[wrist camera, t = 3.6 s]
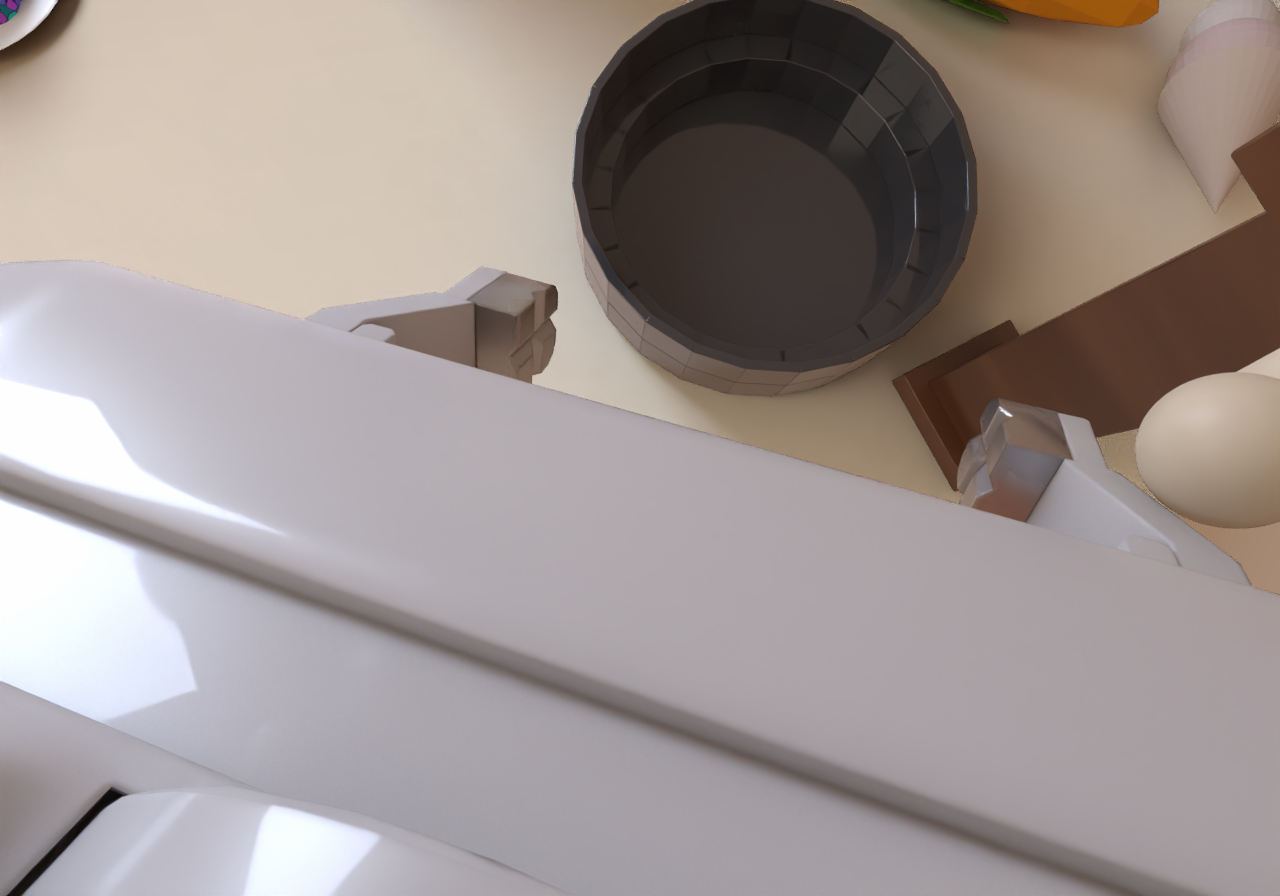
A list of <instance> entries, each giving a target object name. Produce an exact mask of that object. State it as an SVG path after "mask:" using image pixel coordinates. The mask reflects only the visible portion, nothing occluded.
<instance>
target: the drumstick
mask: <svg viewBox="0 0 1280 896" xmlns="http://www.w3.org/2000/svg"><path fill="white" fill-rule="evenodd" d="M1135 458H1136V464H1137V468H1138V471H1139V473H1140V476H1141V478H1142V480H1143V482H1144V483H1145V485H1146V486H1147V488H1148V489H1149V490H1150V491H1151V493H1152V494H1153V495H1154V496H1155V497H1156V498H1157V499H1158V500H1159V501H1160V502H1161V503H1162V504H1164V505H1165V506H1166V507H1168V508H1169V509H1171V510H1172V511H1174V512H1175V513H1177V514H1179V515H1181V516H1183V517H1185V518H1188V519H1190V520H1193V521H1195V522H1198V523H1201V524H1206V525H1210V526H1215V527H1223V528H1253V527H1260V526H1265V525H1269V524H1273V523H1276V522H1279V521H1280V348H1279V349H1277V350H1276V351H1274V352H1272V353H1270V354H1268V355H1266V356H1265V357H1263V358H1261V359H1259V360H1257V361H1255V362H1254V363H1252V364H1250V365H1248V366H1246V367H1244V368H1243V369H1241V370H1239V371H1237V372H1232V373H1220V374H1213V375H1208V376H1204V377H1201V378H1197V379H1194V380H1192V381H1189V382H1187V383H1184V384H1182V385H1180V386H1178V387H1177V388H1175V389H1173V390H1172V391H1170V392H1168V393H1167V394H1166V395H1164V396H1163V397H1162V398H1161V399H1160V400H1159V401H1158V402H1156V403H1155V404H1154V405H1153V407H1152V408H1151V409H1150V410H1149V412H1148V413H1147V414H1146V416H1145V417H1144V419H1143V421H1142V423H1141V425H1140V427H1139V430H1138V434H1137V437H1136V443H1135Z"/></svg>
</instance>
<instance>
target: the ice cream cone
mask: <svg viewBox="0 0 1280 896" xmlns="http://www.w3.org/2000/svg"><path fill="white" fill-rule="evenodd" d="M1157 107H1158V114H1159V116H1160V118H1161V120H1162V122H1163V124H1164V126H1165V127H1166V129H1167V131H1168V133H1169V134H1170V136H1171V138H1172V140H1173V141H1174V143H1175V145H1176V147H1177V148H1178V150H1179V152H1180V154H1181V155H1182V157H1183V159H1184V161H1185V162H1186V164H1187V166H1188V168H1189V170H1190V171H1191V173H1192V175H1193V177H1194V178H1195V180H1196V182H1197V184H1198V185H1199V187H1200V189H1201V191H1202V192H1203V194H1204V196H1205V198H1206V199H1207V201H1208V203H1209V205H1210V206H1211V208H1212V210H1213V212H1214V213H1216V212H1217V210H1218V208H1219V207H1220V205H1221V204H1222V202H1223V201H1224V199H1225V198H1226V196H1227V195H1228V193H1229V191H1230V190H1231V188H1232V187H1233V185H1234V184H1235V182H1236V181H1237V179H1238V178H1239V176H1240V174H1241V171H1240V170H1239V168H1238V167H1237V165H1236V164H1235V162H1234V160H1233V159H1232V157H1231V154H1232V152H1233V151H1234V150H1236V149H1237V148H1239V147H1240V146H1242V145H1244V144H1245V143H1247V142H1248V141H1250V140H1252V139H1253V138H1255V137H1256V136H1258V135H1260V134H1261V133H1263V132H1264V131H1266V130H1268V129H1269V128H1271V126H1272V125H1273V123H1274V122H1275V120H1276V119H1277V117H1278V116H1279V114H1280V11H1279V10H1278V8H1277V7H1276V5H1275V4H1274V3H1273V2H1272V1H1271V0H1219V1H1216V2H1215V3H1213V4H1211V5H1210V6H1208V7H1207V8H1206V9H1204V10H1203V11H1202V12H1201V13H1200V14H1199V15H1198V16H1197V17H1196V18H1195V19H1194V20H1193V21H1192V22H1191V24H1190V25H1189V27H1188V28H1187V30H1186V31H1185V33H1184V36H1183V38H1182V41H1181V45H1180V50H1179V54H1178V55H1177V57H1176V58H1175V60H1174V61H1173V63H1172V65H1171V67H1170V69H1169V71H1168V74H1167V78H1166V83H1165V87H1164V88H1163V90H1162V92H1161V94H1160V96H1159V100H1158V105H1157Z"/></svg>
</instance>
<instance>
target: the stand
mask: <svg viewBox="0 0 1280 896" xmlns="http://www.w3.org/2000/svg"><path fill="white" fill-rule="evenodd" d="M1231 157H1232V159H1233V160H1234V162H1235V164H1236V165H1237V167H1238V168H1239V170H1240V171H1241V173H1242V175H1243V176H1244V178H1245V179H1246V181H1247V182H1248V184H1249V185H1250V187H1251V189H1252V190H1253V192H1254V193H1255V195H1256V196H1257V198H1258V199H1259V201H1260V203H1261V204H1262V206H1263V207H1264V209H1265V210H1266V211H1265V212H1263V213H1261V214H1259V215H1257V216H1255V217H1253V218H1251V219H1249V220H1247V221H1245V222H1243V223H1241V224H1239V225H1237V226H1235V227H1233V228H1231V229H1229V230H1227V231H1225V232H1223V233H1221V234H1219V235H1217V236H1215V237H1213V238H1211V239H1209V240H1207V241H1205V242H1203V243H1201V244H1199V245H1197V246H1195V247H1193V248H1191V249H1189V250H1187V251H1185V252H1183V253H1181V254H1179V255H1177V256H1175V257H1174V258H1172V259H1170V260H1168V261H1166V262H1164V263H1162V264H1160V265H1158V266H1156V267H1154V268H1152V269H1150V270H1148V271H1146V272H1144V273H1142V274H1140V275H1138V276H1136V277H1134V278H1132V279H1130V280H1128V281H1126V282H1124V283H1122V284H1120V285H1118V286H1116V287H1114V288H1112V289H1110V290H1108V291H1106V292H1104V293H1102V294H1100V295H1098V296H1096V297H1094V298H1092V299H1090V300H1088V301H1086V302H1084V303H1082V304H1080V305H1078V306H1076V307H1074V308H1073V309H1071V310H1069V311H1067V312H1065V313H1063V314H1061V315H1059V316H1057V317H1055V318H1053V319H1051V320H1049V321H1047V322H1045V323H1043V324H1041V325H1039V326H1037V327H1035V328H1033V329H1031V330H1029V331H1027V332H1025V333H1023V334H1021V335H1019V334H1018V332H1017V330H1016V329H1015V327H1014V325H1013V323H1012V322H1011V320H1008V321H1006V322H1004V323H1002V324H1000V325H998V326H996V327H994V328H992V329H990V330H989V331H987V332H985V333H983V334H981V335H979V336H977V337H975V338H973V339H971V340H969V341H967V342H965V343H963V344H961V345H959V346H957V347H955V348H954V349H952V350H950V351H948V352H946V353H944V354H942V355H940V356H938V357H936V358H934V359H932V360H930V361H928V362H926V363H924V364H922V365H920V366H919V367H917V368H915V369H913V370H911V371H909V372H907V373H905V374H903V375H901V376H900V377H898V378H896V379H894V380H893V381H892V382H893V384H894V386H895V388H896V390H897V391H898V393H899V395H900V397H901V398H902V400H903V402H904V404H905V405H906V407H907V409H908V411H909V413H910V414H911V416H912V418H913V420H914V421H915V423H916V425H917V427H918V429H919V430H920V432H921V434H922V436H923V437H924V439H925V441H926V443H927V445H928V446H929V448H930V450H931V452H932V453H933V455H934V457H935V459H936V461H937V462H938V464H939V466H940V468H941V469H942V471H943V473H944V475H945V477H946V478H947V480H948V482H949V484H950V485H951V487H952V489H953V490H954V491H959V490H958V489H957V473H958V467H959V464H960V461H961V458H962V455H963V452H964V450H965V448H966V446H967V444H968V442H969V440H970V439H972V438H973V437H975V436H977V435H979V434H981V433H982V430H981V423H980V418H981V416H982V414H983V412H984V410H985V408H986V406H987V405H988V404H989V402H990V401H991V400H992V399H994V398H1000V399H1004V400H1009V401H1013V402H1017V403H1022V404H1026V405H1030V406H1035V407H1039V408H1043V409H1048V410H1052V411H1056V412H1057V413H1061V414H1066V415H1070V416H1075V417H1080V418H1084V419H1086V420H1088V421H1089V422H1090V425H1091V427H1092V430H1093V432H1094V435H1095V437H1096V438H1097V437H1101V436H1106V435H1111V434H1115V433H1120V432H1124V431H1129V430H1133V429H1138V428H1139V427H1140V425H1141V423H1142V421H1143V419H1144V417H1145V416H1146V414H1147V413H1148V412H1149V410H1150V409H1151V408H1152V407H1153V405H1154V404H1155V403H1156V402H1158V401H1159V400H1160V399H1161V398H1162V397H1163V396H1164V395H1166V394H1167V393H1168V392H1170V391H1172V390H1173V389H1175V388H1177V387H1178V386H1180V385H1182V384H1184V383H1187V382H1189V381H1192V380H1194V379H1197V378H1201V377H1204V376H1208V375H1213V374H1220V373H1232V372H1237V371H1239V370H1241V369H1243V368H1244V367H1246V366H1248V365H1250V364H1252V363H1254V362H1255V361H1257V360H1259V359H1261V358H1263V357H1265V356H1266V355H1268V354H1270V353H1272V352H1274V351H1276V350H1277V349H1279V348H1280V122H1279V123H1277V124H1276V125H1274V126H1272V127H1271V128H1269V129H1268V130H1266V131H1264V132H1263V133H1261V134H1260V135H1258V136H1256V137H1255V138H1253V139H1252V140H1250V141H1248V142H1247V143H1245V144H1244V145H1242V146H1240V147H1239V148H1237V149H1236V150H1234V151H1233V152H1232V154H1231Z"/></svg>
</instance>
